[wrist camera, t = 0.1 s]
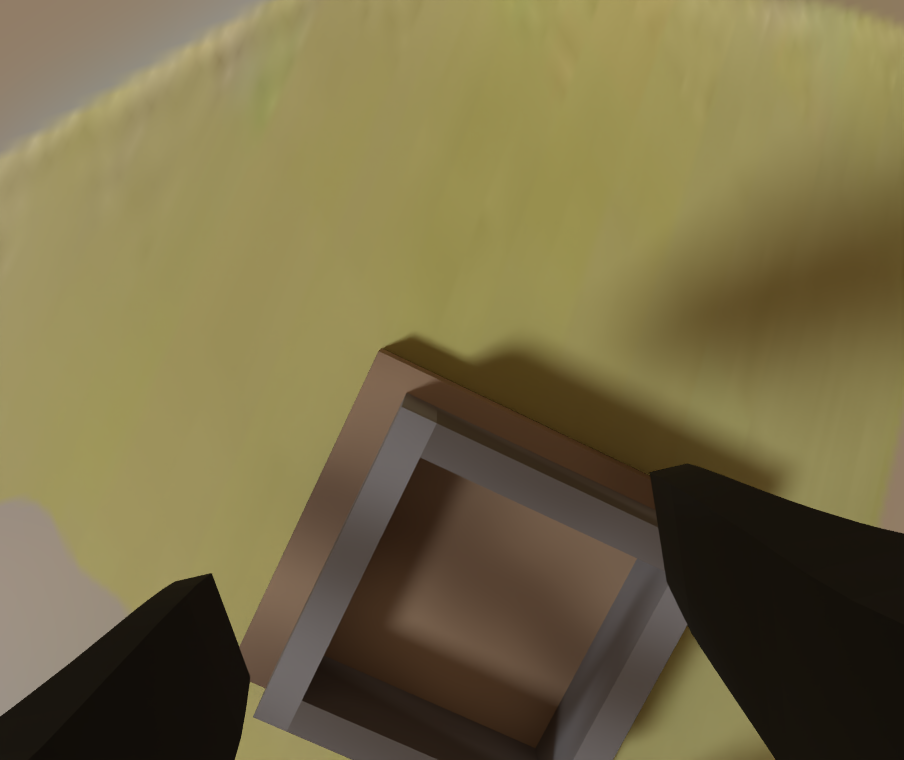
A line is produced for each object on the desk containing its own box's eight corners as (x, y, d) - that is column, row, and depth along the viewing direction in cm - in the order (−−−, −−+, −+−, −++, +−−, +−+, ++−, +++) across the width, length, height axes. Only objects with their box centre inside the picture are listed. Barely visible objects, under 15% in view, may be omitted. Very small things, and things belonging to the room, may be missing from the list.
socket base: (567, 798, 23) (590, 888, 20) (237, 654, 22) (199, 722, 19) (724, 511, 22) (778, 553, 18) (381, 348, 21) (369, 359, 18)
